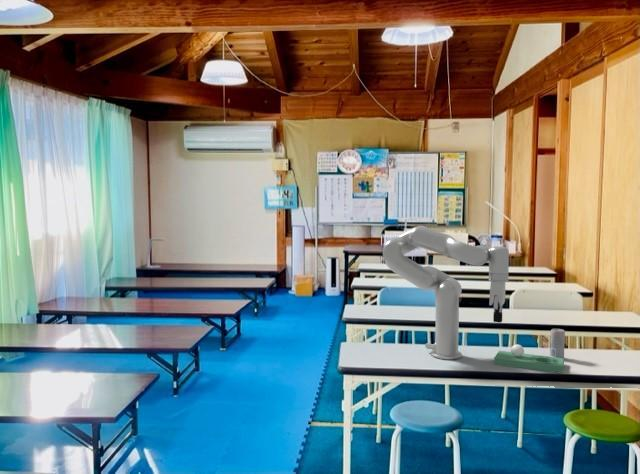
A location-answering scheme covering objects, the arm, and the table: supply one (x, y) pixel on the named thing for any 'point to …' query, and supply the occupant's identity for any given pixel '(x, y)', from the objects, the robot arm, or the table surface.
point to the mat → (530, 361)
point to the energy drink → (557, 343)
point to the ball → (517, 350)
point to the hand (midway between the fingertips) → (497, 321)
